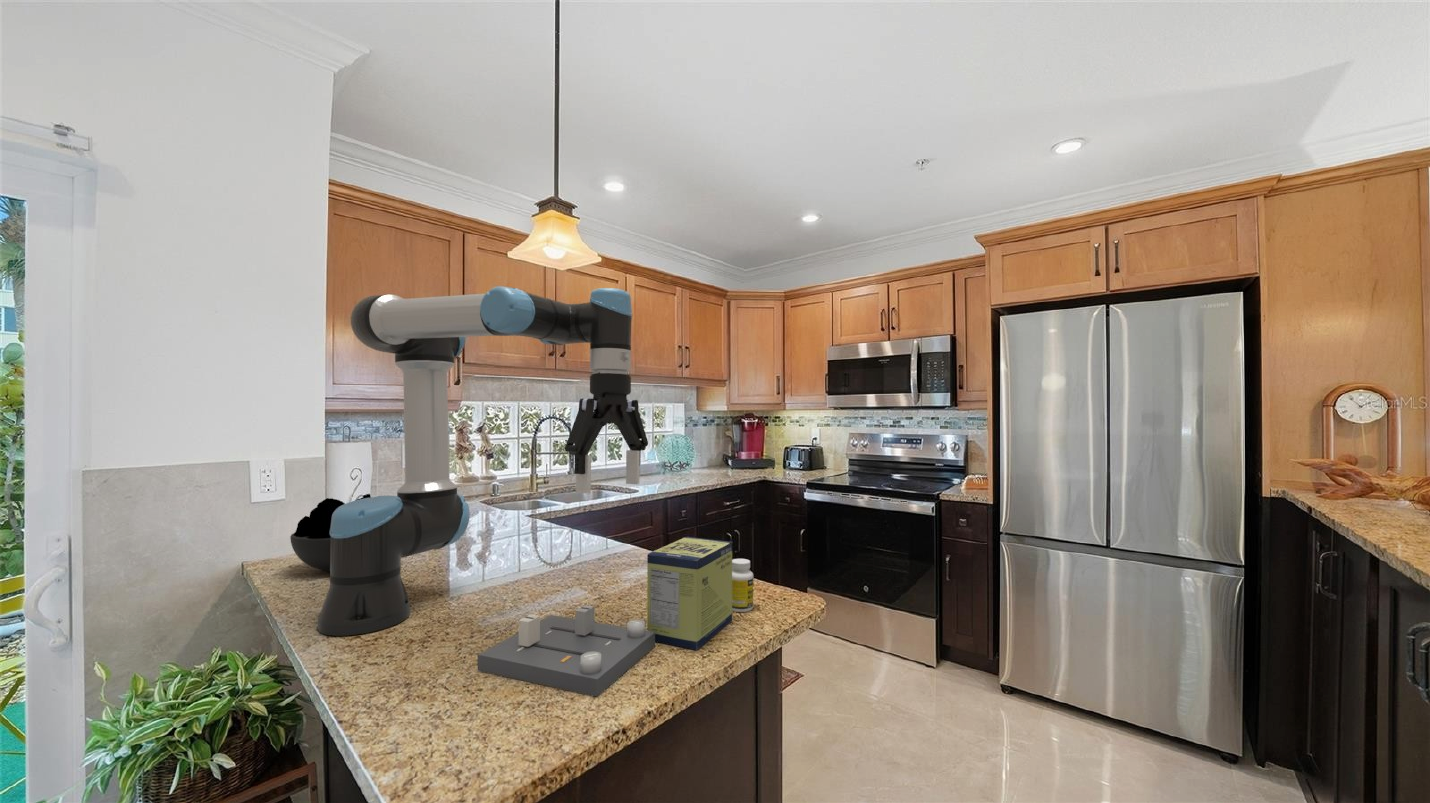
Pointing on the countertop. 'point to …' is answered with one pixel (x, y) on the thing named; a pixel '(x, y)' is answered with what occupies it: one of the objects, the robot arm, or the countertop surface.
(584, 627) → the fader grey
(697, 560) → the protein box
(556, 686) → the console
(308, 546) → the coal bowl
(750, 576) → the supplement bottle
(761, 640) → the countertop surface
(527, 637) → the fader cream
